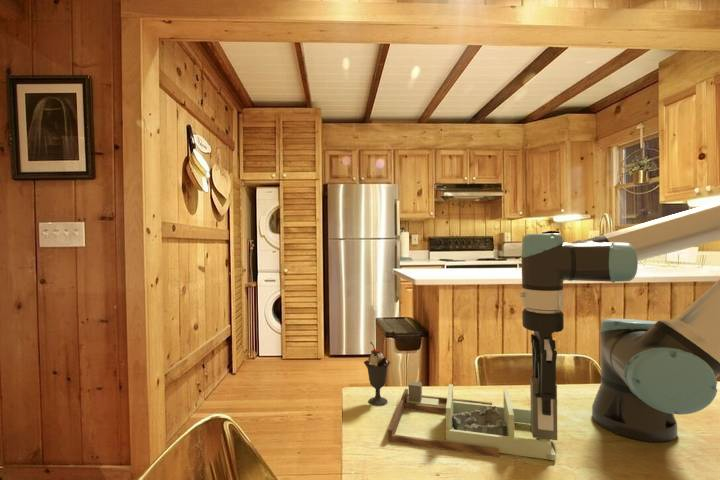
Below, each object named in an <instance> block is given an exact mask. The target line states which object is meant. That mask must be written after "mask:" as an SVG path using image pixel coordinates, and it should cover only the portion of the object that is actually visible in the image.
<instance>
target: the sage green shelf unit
mask: <svg viewBox="0 0 720 480" xmlns="http://www.w3.org/2000/svg"><path fill="white" fill-rule="evenodd" d="M529 382H530V390H529V391H530V408H525V407H524V408H523V407H513V404H512V401H511V396H510V393H509V389H506V388H503V405H495V404H494V405H493V404H492V405H486V404H477V403H467V402H458V401H453V399H454V384H452V383H449V384H448V389H447V391H448V392H447V397H446V398H447V404H446V413H445V419H446V420H445V421H446V422H445V442H452V443H460V444H467V445H474V446H482V447H489V448H497V449H498V450H499V454H500V453H501V454H505V455H506V454H508V455H516V456H521V457H529V458H536V459H545V460H552V461H557V459H556V457H557V456H556V452H555V450H554V447H553V445H552V442H551V441H558V384H556V399H555V400H554V399H553V431H550V430H542V429H538V400H537V397H535V393H537V394H538V393H539V383H538V378H532V377H530V381H529ZM486 406H487V407H489V406H492V407H493V406H496V407H495V408H496V409H497V411H498V412H499V413H500V416H501V419H504V421H505V422H506V423H507V427H506V436H501V435H494V434H486V433H478V432H470V431H462V430H454V429H453V418H452V415H453V414H455V413H456V414H460V413H462V412H471V411H474V410H481V409H482V407H486ZM515 423H518V424H525V425H526V424H528V425H530V432H531V435H532V438H535V439H532V438H523V437H516V436H515Z"/></svg>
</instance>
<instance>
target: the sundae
mask: <svg viewBox="0 0 720 480" xmlns="http://www.w3.org/2000/svg"><path fill="white" fill-rule="evenodd" d="M369 344H371V345H372V348H373V349H372V350H370V352H371V353H370V355H369V357H368V358H367V360H365V361H364V362H363V364H364V365H365V367H366V368H367V372H368V380H369V383H370V386H371V387H373V388H374V390H375V395H374V397H371V398H369V399H368V401H367V402H368V403H369V405H372V406H374V407H375V406H376V407H381V406H385V405H386V404H388V399H387V398H385V397H382V396H381V388H383V387H384V386H385V385H386V381H387V374H388V367H389V366H390V364H391V361H390V360H387V357H385V356H384V354H383V353H382V352H380V351H378V350H377V349H376V348H375V345H374V344H373V342H372V341H370V342H369Z"/></svg>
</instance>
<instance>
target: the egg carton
mask: <svg viewBox="0 0 720 480" xmlns="http://www.w3.org/2000/svg"><path fill="white" fill-rule="evenodd" d="M496 406H497V405H496ZM496 406H493V407H492V406H489V407H487V406H486V407H482V409H481V410H474V411H471V412H462V413H460V414H456V413H455V414H453V415H452V418H453V427H452V429H454V430H462V431H470V432H478V433H486V434H494V435H501V436H507V435H506V427H507V423H506V422H505V421H504V419H501V416H500V413H499V412H498V411H497V409H496V408H495V407H496Z"/></svg>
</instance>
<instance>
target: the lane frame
mask: <svg viewBox="0 0 720 480" xmlns="http://www.w3.org/2000/svg"><path fill="white" fill-rule="evenodd" d="M408 396H409V389H408V388H405V389H404V390H403V393H402V395H401V398H400V400H399V402H398V404H397V407H396V409H395V411H394V414H393V418H392V419H391V421H390V424H389V426H388V429H387V441H388V442H392V443H398V444H407V445H414V446H420V447H426V448H435V449H440V450H441V449H443V450H448V451H454V452H455V451H456V452H463V453H470V454H478V455H484V456H489V457H497V458H498V457H499V455H500V453H499V450H498V449H497V448H489V447H482V446H474V445H467V444H460V443H452V442H446V440H445V441H444V440H437V439H431V438H430V439H429V438H421V437H414V436H407V435H399V434H396V433H397V429H398V427H399V424H400V422H401V419H402V417H403V414H404V411H405V410H413V411H421V412H432V413H438V414H439V413H441V414H446V404H447V397H443V396H442V397H441V396H432V395H423V394H422V397H423V398H432V399H439V405H438V406H430V405H421V404H412V403H406V401H407V399H408ZM453 401H461V402H470V403H480V404H486V405H493V402H491V401H479V400H470V399H461V398H453Z"/></svg>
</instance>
